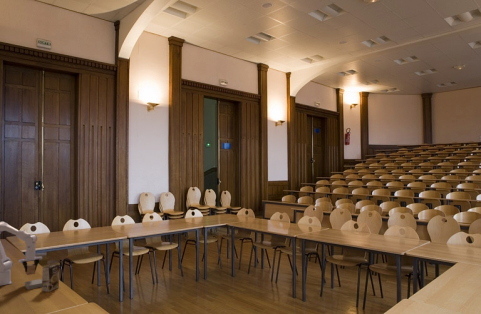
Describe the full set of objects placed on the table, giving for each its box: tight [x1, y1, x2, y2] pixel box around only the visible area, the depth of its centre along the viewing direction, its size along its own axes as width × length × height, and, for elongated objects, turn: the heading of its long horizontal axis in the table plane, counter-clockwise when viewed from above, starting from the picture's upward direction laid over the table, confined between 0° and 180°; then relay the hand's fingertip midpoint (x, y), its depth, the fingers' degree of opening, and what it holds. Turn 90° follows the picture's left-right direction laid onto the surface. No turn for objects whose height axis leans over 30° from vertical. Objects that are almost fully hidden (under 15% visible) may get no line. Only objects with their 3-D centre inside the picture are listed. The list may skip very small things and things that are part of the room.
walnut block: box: [25, 263, 36, 276], centre depth 253 cm, size 5×5×6 cm
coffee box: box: [41, 263, 60, 293], centre depth 243 cm, size 9×6×16 cm
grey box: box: [24, 278, 42, 290], centre depth 248 cm, size 10×10×3 cm
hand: (30, 271), depth 253 cm, fingers closed on walnut block, 5 cm apart
